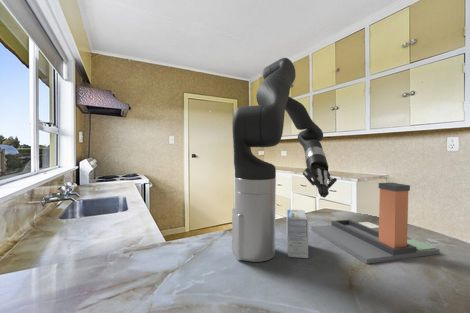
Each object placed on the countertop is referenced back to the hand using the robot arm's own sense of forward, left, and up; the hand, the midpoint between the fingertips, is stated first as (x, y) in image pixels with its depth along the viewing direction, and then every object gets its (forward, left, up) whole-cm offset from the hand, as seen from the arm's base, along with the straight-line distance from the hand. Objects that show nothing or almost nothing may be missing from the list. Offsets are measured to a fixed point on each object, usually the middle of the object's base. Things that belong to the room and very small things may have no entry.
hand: (324, 195), depth 72 cm
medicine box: (-19, -17, -9) cm, 27 cm away
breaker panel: (+2, -16, -9) cm, 18 cm away
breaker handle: (+2, -23, -7) cm, 24 cm away
